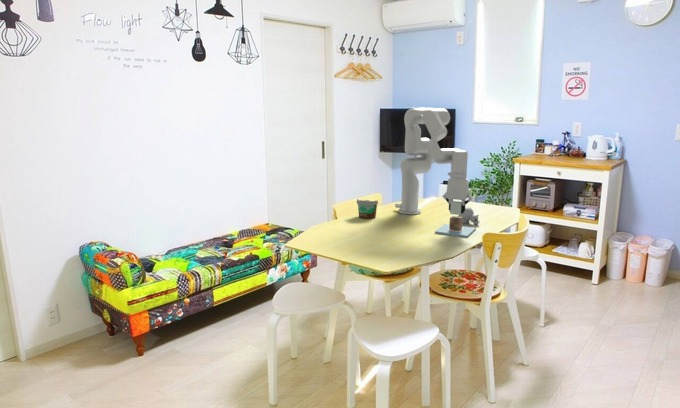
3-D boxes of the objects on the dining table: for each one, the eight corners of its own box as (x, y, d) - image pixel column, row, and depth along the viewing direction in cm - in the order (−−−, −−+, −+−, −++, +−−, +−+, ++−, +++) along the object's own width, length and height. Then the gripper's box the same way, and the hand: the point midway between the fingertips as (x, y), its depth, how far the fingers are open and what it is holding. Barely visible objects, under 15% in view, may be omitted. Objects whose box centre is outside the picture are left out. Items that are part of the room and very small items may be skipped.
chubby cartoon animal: (471, 231, 259) (478, 217, 255) (454, 219, 266) (459, 205, 262) (479, 228, 264) (485, 215, 260) (461, 216, 271) (467, 203, 267)
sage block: (450, 213, 246) (450, 201, 244) (453, 211, 250) (453, 200, 249) (460, 215, 243) (460, 202, 242) (463, 212, 248) (463, 201, 246)
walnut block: (449, 229, 248) (449, 217, 246) (452, 227, 252) (452, 215, 251) (459, 231, 245) (459, 219, 244) (462, 228, 250) (462, 217, 248)
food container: (353, 218, 275) (353, 200, 273) (357, 215, 280) (357, 198, 278) (374, 220, 270) (374, 202, 268) (378, 218, 276) (378, 200, 274)
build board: (434, 233, 246) (435, 230, 246) (444, 225, 259) (444, 223, 259) (467, 237, 238) (467, 235, 238) (475, 229, 252) (475, 227, 252)
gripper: (439, 175, 244) (437, 212, 247) (474, 178, 236) (472, 215, 239) (443, 173, 250) (442, 209, 254) (478, 176, 242) (476, 212, 246)
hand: (456, 211), depth 247 cm, fingers closed on sage block, 5 cm apart
